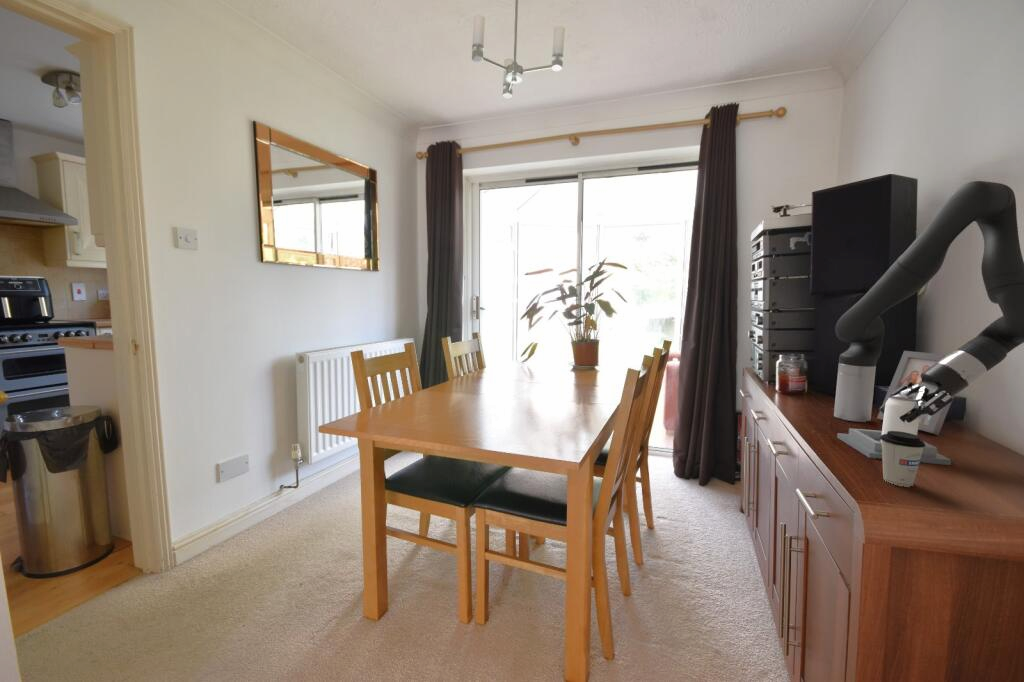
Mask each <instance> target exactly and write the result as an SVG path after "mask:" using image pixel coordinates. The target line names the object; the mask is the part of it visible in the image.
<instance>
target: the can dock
mask: <svg viewBox="0 0 1024 682" xmlns="http://www.w3.org/2000/svg"><path fill="white" fill-rule="evenodd" d="M836 435H837V436H836V437H837V439H839V440H840V441H842V442H844V443H846V445H848V446H850V447H852V448H853V449H855V450H857V451H858V452H860V453H861V454H862V455H865V456H866V457H867V458H869V459H877V458H878V459H879V460H882V442H881V439H880V437H881V435H882V430H875V429H874V430H873V429H866V428H865V429H863V428H852V427H849V428H848V433H843V432H842V433H841V432H837V434H836ZM923 442H924V443H925V447H924V448H923V451H922V455H921V458H920V462H919V463H922V462H923V463H926V464H934V465H935V464H936V465H945V466H947V465H948V466H951V464H952V459H950V458H948V457H946V456H944V455H943V454H940V453H938V447H936V446H934V445H931V444H930V443H927V442H926V441H923ZM878 459H877V460H878Z"/></svg>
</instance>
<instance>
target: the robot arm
mask: <svg viewBox="0 0 1024 682" xmlns="http://www.w3.org/2000/svg"><path fill="white" fill-rule="evenodd" d="M1016 199H1017V198H1016V195H1015V191H1014V190H1013V188H1011V187H1010V186H1009V185H1007V184H1004V183H999V182H993V181H985V180H975V181H973V180H972V181H969V182H966V183H965V184H962V185H961V186H959V187H958V188H956V189H955V191H954V192H952V194H951V195H950V196H949V197H948V198H947V199H946V200H945V202H944V203H943V205H942V206H941V207H940V208H939V210H938V211H937V212H936V214H935V215H934V217H933V218H932V219H931V221H930V222H929V223H928V225H927V226H926V227H925V229H923V231H922V232H921V233H920V234H919V235H918V236H917V238H915V239H914V240H913V241H912V243H911V244H910V245H909V246H908V248H907V249H906V250H905V251H904V252H903V253H902V254H901V255H899V257H897V259H896V260H895V261H894V262H893V263H892V265H891V266H889V268H888V269H887V270H886V271H885V272H884V273H883V275H882V276H881V277H880V278H879V279H878V280H877V281H876V283H874V285H872V286H871V287H870V288H869V290H868V291H867V292H866V293H865V294H864V295H863V296H862V297H861V298H860V299H859V300H858V301H857V302H856V303H855V304H853V306H851V307H850V308H849V309H848V310H847V311H846V312H845V313H843V314H842V315H841V316H840V317H839V318H838V320H837V322H836V324H835V328H834V331H835V336H836V337H837V338H838V340H841V341H843V342H845V343H850V345H849V347H848V349H847V350H845V351H844V352H842V353H840V355H839V358H838V366H837V367H838V368H837V379H836V388H835V389H836V390H835V400H834V409H833V410H834V411H833V416H834V417H835V418H837V419H839V420H840V419H841V420H844V421H849V422H857V423H867V422H866V421H870V422H871V418H872V409H873V400H874V391H875V390H874V389H875V388H874V387H875V378H876V369H877V362H878V359H880V356H881V353H882V348H883V343H884V336H885V325H884V322H883V319H882V318H881V315H883V313H885V312H886V311H887V310H889V309H890V308H892V307H894V306H896V305H898V304H899V303H901V302H903V301H905V300H906V299H908V298H910V297H912V296H914V295H915V294H916V293H918V292H919V291H920V290H921V289H923V288H924V287H925V286H926V285H927V284H928V283H929V282H930V281H931V280H932V279H933V278H934V277H935V276H936V275H937V273H938V272H939V271H940V270H941V268H942V266H943V264H944V261H945V260H946V256H947V253H948V250H949V248H950V246H951V245H952V244H953V242H954V241H955V240H956V238H957V237H958V236H959V235H961V234H962V232H963V231H964V230H965V229H966V228H967V227H969V226H970V225H971V224H972V223H974V222H975V223H976V224H977V226H978V227H979V230H980V231H981V235H982V238H983V243H984V244H983V246H984V247H983V248H984V249H983V253H982V259H981V266H980V267H981V275H982V280H983V285H984V288H985V291H986V294H987V297H988V300H990V302H991V303H993V304H997V305H998V307H999V308H1000V310H1001V313H1002V316H1000V317H999V318H997V319H996V320H993V322H991V323H990V324H989V325H987V326H986V327H985V328H984V329H983V330H982V331H981V332H979V334H977V335H976V336H975V337H974V338H971V339H970V340H969V341H967V342H965V344H963V345H962V346H960V347H959V348H958V349H956V350H954V351H953V352H951V353H949V354H947V355H946V356H944V357H943V358H941V359H939V360H938V361H937V362H935V363H934V364H933V365H931V366H930V367H929V368H927V369H926V370H924V371H923V372H922V373H920V378H921V381H920V382H918V383H916V384H914V382H912V380H909V381H906V382H905V383H904V384H902V385H901V386H900V387H898V388H896V389H895V390H893V391H892V392H890V393H889V394H888V397H889V396H893V397H903V398H910V399H915V400H916V401H918V402H917V403H916V405H915V406H914V408H915V409H914V408H913V409H912V410H910V411H909V412H911V413H909V412H908V413H909V414H908V413H906V414H904V415H902V416H900V419H901V420H902V421H903V422H905V420H906V421H907V422H908V423H910V422H912V421H913V420H915V419H916V418H918V417H919V416H920V417H921V416H926V415H928V416H934V415H936V414H937V413H938V412H940V411H941V410H942V409H943V408H945V407H947V406H948V405H949V404H950V403H952V402H953V401H954V398H953V397H954V396H956V395H958V394H959V393H960V392H962V391H963V390H964V389H966V388H967V387H969V386H971V385H972V384H973V383H975V382H976V381H977V380H979V379H980V378H981V377H982V376H983V375H984V374H986V373H987V372H988V371H990V370H991V369H993V368H994V367H995V366H997V365H998V364H1000V363H1001V362H1003V361H1004V360H1005V359H1006V357H1007V356H1008V353H1010V352H1012V351H1013V350H1014V349H1016V348H1017V347H1019V346H1021V345H1022V344H1024V259H1023V254H1022V250H1021V245H1020V239H1019V230H1018V228H1019V227H1018V226H1019V225H1018V220H1017V219H1018V216H1017V215H1018V214H1017V202H1016ZM885 404H886V403H884V404H883V405H882V406H879V408H878V411H880V413H882V414H883V415H884V411H885ZM934 406H935V407H934ZM920 417H919V418H920Z"/></svg>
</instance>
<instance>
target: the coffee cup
mask: <svg viewBox="0 0 1024 682" xmlns="http://www.w3.org/2000/svg"><path fill="white" fill-rule="evenodd" d="M880 439H881V440H882V459H881V460H882V476H883V477H882V478H883V479H884V480H885V482H886V481H887V482H886V483H888V482H889V483H888V484H890V483H891V484H890V485H893V484H894V486H897V485H898V487H903V486H904V487H905V488H911V487H910V486H912V487H913V486H914V482H915V479H916V475H917V471H918V468H919V466H920V463H921V462H920V458H921V455H922V451H923V448H924V447H925V443H926V442H925V441H923V440H921V437H919V436H918V434H917V435H914V434H910V433H906V432H899V431H888V433H887V434H884V435H882V436H881V437H880ZM924 442H925V443H924ZM884 480H883V481H884ZM904 487H903V488H904Z"/></svg>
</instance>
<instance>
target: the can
mask: <svg viewBox="0 0 1024 682" xmlns="http://www.w3.org/2000/svg"><path fill="white" fill-rule="evenodd" d="M917 402H918V401H916V400H915V399H910V398H903V397H893V396H889V395H888V399H887V400H886V402H885V403H884V404H885V411H884V414H883V420H882V421H883V422H882V429H881V431H882V435H884V434H887V433H888V431H899V432H906V433H910V434H914V435H917V436H918V432H919V424H920V417H921V415H920V416H919V417H918V418H916V419H915V420H913V421H912V422H910V423H908V422H907V421H906V420H905V422H903V421H902V420H901V419H900V416H902V415H904V414H906V413H908V412H909V411H910V410H912V409H913V408H914V406H915V405H916V403H917ZM914 409H915V408H914ZM909 413H911V412H909ZM909 413H908V414H909ZM882 435H881V436H882ZM881 442H882V440H881Z"/></svg>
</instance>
